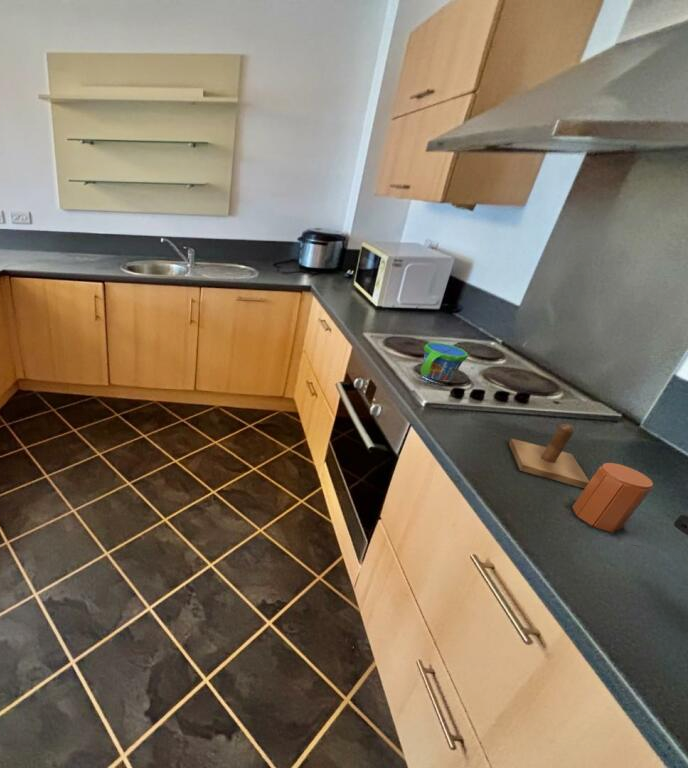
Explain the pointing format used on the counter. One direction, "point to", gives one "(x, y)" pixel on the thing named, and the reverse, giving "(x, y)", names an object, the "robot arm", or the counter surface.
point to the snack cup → (441, 361)
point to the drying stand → (550, 458)
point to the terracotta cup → (612, 496)
